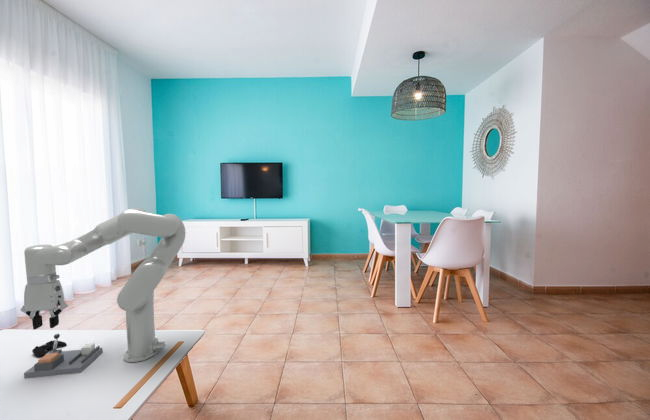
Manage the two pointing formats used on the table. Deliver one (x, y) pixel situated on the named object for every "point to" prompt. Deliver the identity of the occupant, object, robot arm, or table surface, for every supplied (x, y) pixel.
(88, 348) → the slide switch
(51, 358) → the push button
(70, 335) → the table surface
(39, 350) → the game controller
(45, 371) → the control panel
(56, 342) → the toggle lever
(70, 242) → the robot arm
